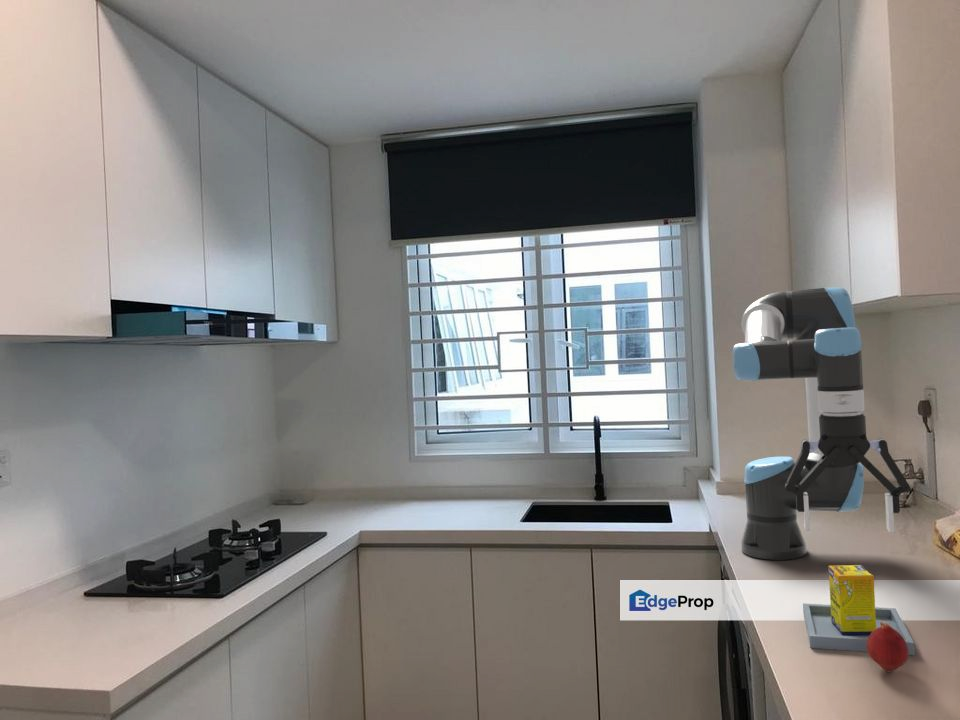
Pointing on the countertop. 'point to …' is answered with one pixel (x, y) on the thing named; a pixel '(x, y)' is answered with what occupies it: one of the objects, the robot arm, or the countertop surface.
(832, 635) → the slate tray
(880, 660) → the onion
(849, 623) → the supplement box
